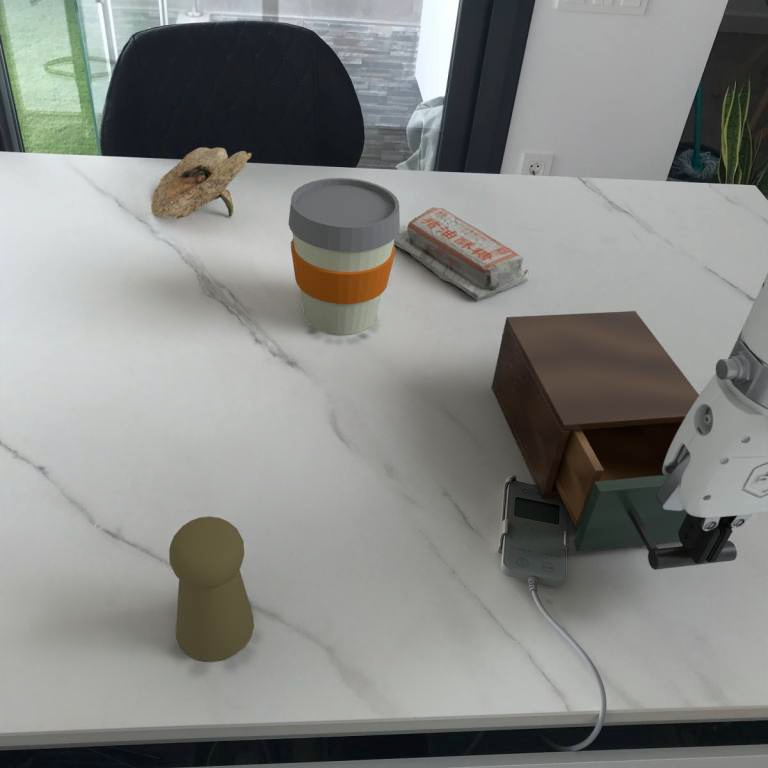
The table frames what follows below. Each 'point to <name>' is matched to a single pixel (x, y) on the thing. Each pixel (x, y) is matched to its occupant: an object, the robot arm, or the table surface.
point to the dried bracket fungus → (197, 182)
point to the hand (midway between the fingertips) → (695, 548)
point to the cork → (210, 590)
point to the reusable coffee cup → (342, 251)
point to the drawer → (623, 492)
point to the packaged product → (461, 254)
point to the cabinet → (582, 382)
